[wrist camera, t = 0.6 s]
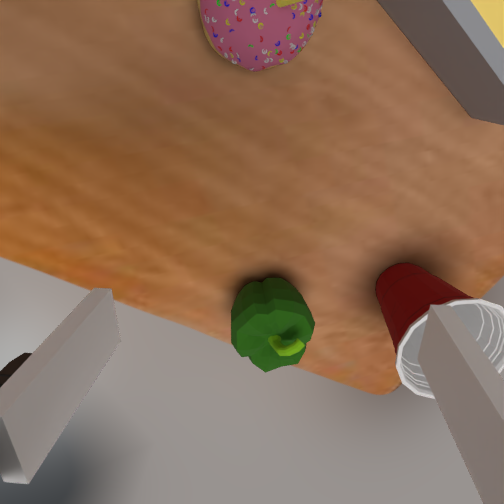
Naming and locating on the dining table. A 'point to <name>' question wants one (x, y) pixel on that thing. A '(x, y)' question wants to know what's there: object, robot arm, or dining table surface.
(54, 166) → the dining table surface
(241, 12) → the cupcake
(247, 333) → the bell pepper
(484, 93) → the tray
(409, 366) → the plastic cup
